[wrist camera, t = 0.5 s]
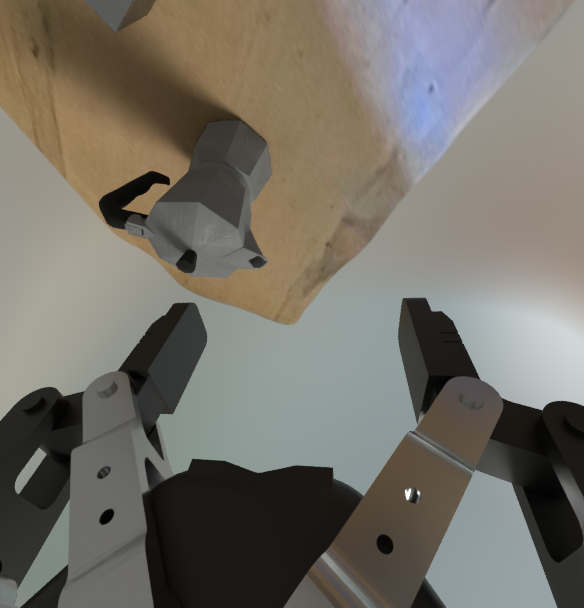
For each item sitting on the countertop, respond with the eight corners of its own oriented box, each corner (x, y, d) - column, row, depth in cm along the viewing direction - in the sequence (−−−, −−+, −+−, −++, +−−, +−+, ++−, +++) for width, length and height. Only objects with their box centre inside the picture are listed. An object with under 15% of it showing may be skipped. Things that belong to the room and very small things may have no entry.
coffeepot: (299, 141, 34) (273, 255, 23) (277, 208, 41) (250, 318, 30) (157, 85, 31) (53, 185, 20) (161, 168, 38) (85, 272, 28)
